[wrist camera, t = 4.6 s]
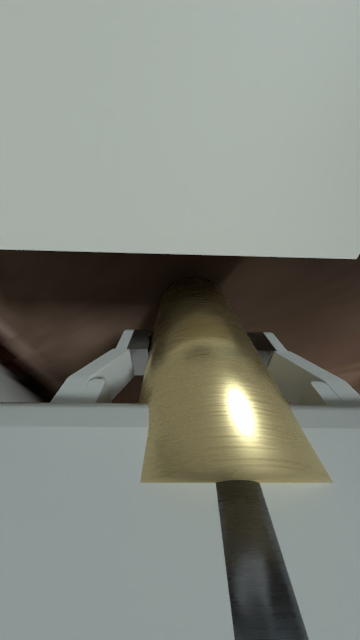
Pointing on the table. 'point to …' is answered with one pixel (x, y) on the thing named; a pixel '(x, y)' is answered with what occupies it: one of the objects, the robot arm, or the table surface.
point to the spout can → (227, 445)
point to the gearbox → (181, 127)
